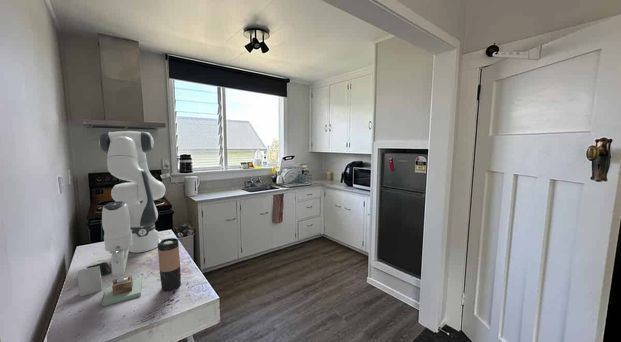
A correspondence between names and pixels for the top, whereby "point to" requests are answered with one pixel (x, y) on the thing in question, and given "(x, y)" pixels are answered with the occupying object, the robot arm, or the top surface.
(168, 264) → the travel mug
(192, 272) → the top surface
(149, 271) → the top surface
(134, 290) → the base
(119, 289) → the open wooden frame
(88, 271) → the white boxy piece
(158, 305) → the top surface
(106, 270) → the phone
